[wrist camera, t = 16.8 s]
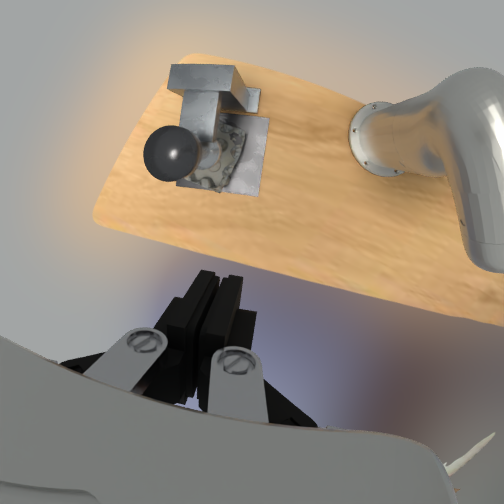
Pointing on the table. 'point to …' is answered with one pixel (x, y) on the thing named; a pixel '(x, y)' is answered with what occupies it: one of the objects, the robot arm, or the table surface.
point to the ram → (178, 153)
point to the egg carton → (225, 164)
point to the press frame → (222, 118)
